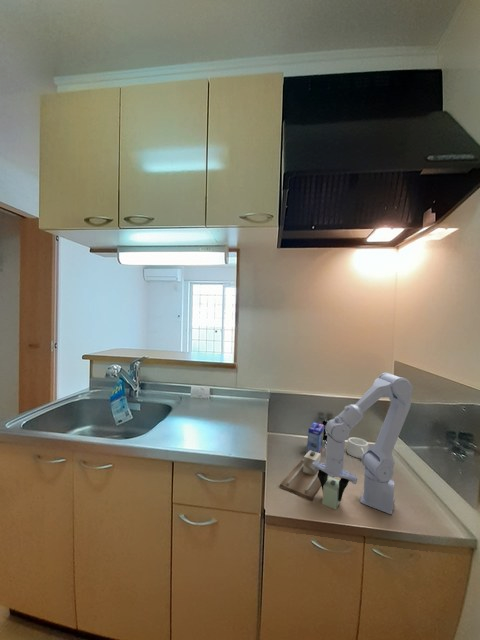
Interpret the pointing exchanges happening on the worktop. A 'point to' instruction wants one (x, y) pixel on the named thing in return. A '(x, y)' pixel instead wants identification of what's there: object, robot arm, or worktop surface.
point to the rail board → (304, 477)
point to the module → (331, 493)
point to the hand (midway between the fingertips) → (332, 496)
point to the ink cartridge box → (315, 437)
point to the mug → (356, 447)
